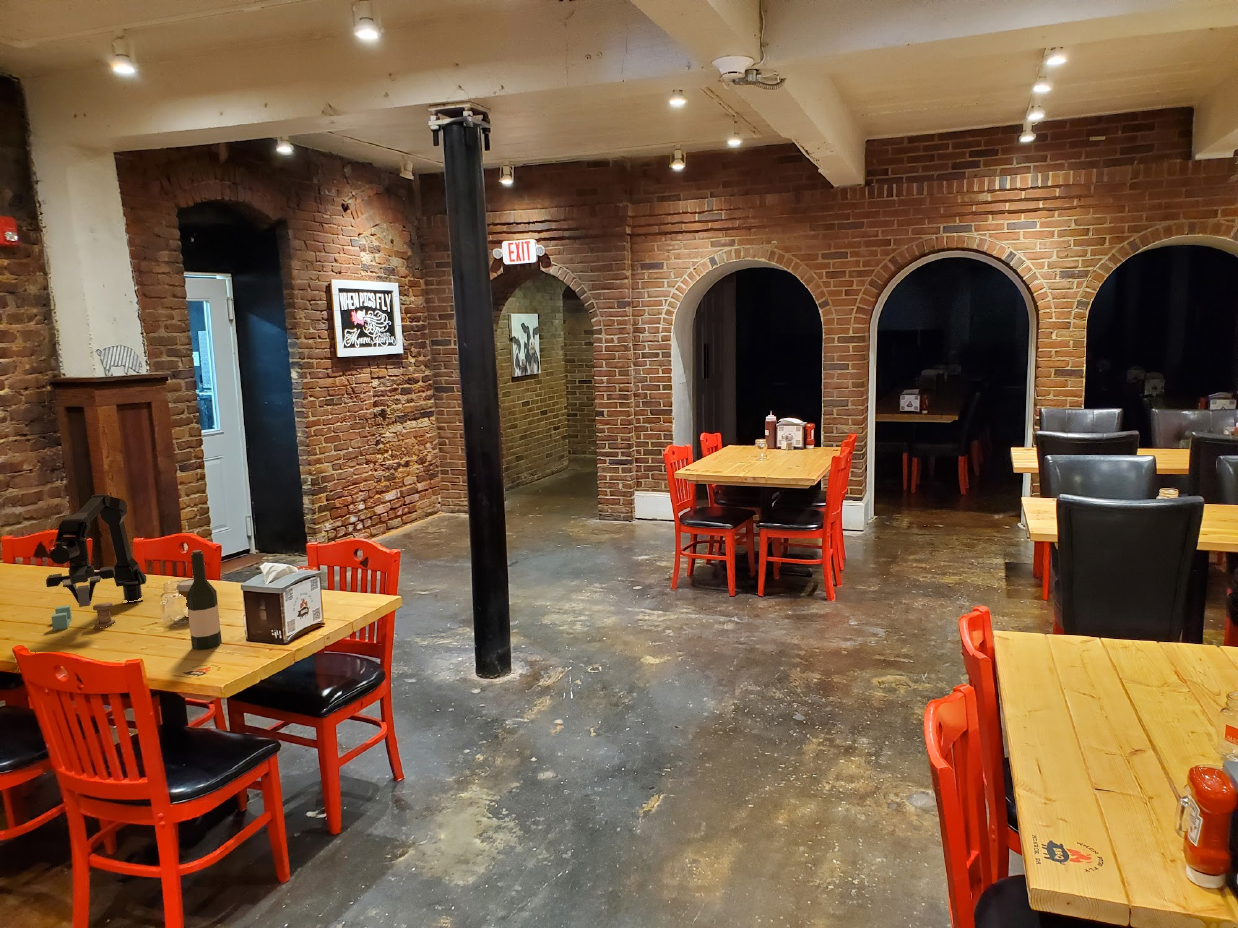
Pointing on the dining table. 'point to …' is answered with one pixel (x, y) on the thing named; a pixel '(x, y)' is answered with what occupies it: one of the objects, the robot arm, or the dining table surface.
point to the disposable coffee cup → (184, 587)
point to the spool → (103, 614)
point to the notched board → (61, 617)
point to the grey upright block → (83, 595)
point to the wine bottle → (202, 608)
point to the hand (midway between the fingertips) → (84, 601)
